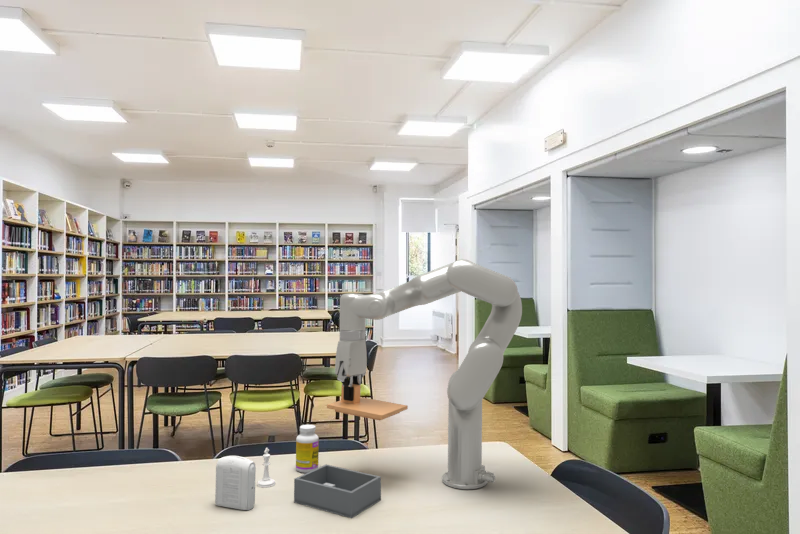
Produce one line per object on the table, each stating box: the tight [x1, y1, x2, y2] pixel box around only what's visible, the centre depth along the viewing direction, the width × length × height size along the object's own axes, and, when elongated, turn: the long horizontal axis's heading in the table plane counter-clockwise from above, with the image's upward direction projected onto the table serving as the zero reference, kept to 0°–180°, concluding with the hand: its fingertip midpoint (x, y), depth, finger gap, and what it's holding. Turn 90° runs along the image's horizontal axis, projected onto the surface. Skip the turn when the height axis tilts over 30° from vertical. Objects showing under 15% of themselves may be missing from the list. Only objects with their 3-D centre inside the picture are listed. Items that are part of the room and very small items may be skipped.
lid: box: [326, 384, 409, 421], centre depth 162 cm, size 19×14×7 cm
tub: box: [293, 463, 382, 519], centre depth 146 cm, size 18×13×6 cm
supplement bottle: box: [295, 424, 320, 474], centre depth 169 cm, size 7×7×13 cm
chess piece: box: [256, 447, 276, 488], centre depth 157 cm, size 5×5×10 cm
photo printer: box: [214, 455, 257, 511], centre depth 142 cm, size 10×4×12 cm, turn 72°
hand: (351, 398), depth 165 cm, fingers closed on lid
